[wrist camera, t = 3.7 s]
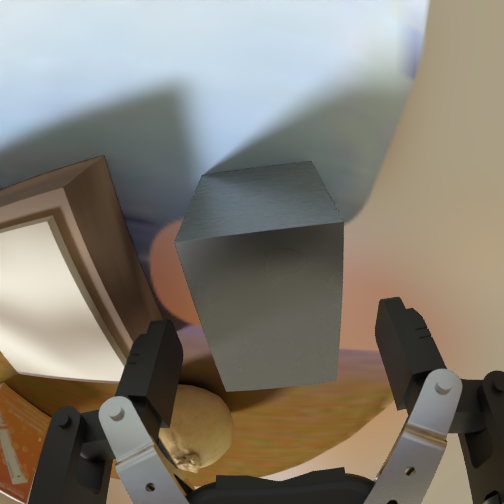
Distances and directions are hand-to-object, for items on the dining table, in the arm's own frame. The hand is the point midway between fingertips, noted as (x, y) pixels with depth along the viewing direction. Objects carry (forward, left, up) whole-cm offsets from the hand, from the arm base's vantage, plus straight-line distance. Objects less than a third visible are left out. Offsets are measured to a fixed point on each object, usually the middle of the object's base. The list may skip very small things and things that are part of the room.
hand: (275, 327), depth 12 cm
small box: (+19, -33, -6) cm, 38 cm away
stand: (0, -13, -5) cm, 14 cm away
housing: (0, 0, -6) cm, 6 cm away
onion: (+13, -8, -6) cm, 17 cm away
